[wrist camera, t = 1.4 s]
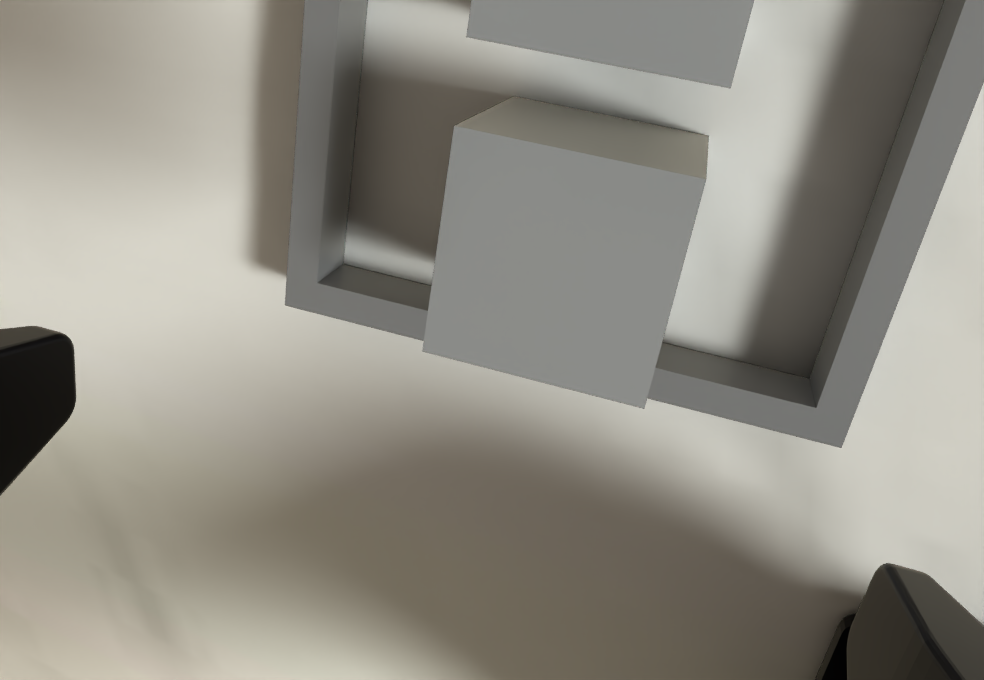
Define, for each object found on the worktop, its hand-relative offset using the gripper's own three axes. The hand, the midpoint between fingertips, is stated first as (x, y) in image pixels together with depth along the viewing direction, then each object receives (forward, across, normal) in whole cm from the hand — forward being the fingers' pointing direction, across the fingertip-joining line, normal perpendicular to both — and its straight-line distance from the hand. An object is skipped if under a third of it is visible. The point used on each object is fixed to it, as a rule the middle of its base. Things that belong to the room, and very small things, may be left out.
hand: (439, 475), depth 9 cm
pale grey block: (+12, 0, 0) cm, 12 cm away
